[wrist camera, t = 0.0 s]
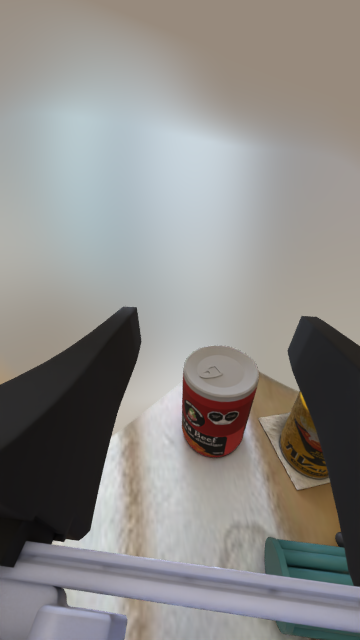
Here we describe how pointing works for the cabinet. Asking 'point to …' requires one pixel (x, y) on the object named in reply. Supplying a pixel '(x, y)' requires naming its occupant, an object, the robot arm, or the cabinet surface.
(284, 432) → the condiment
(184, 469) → the cabinet surface
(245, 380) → the canned food
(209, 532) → the cabinet surface
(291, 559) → the pencil holder
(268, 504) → the cabinet surface
